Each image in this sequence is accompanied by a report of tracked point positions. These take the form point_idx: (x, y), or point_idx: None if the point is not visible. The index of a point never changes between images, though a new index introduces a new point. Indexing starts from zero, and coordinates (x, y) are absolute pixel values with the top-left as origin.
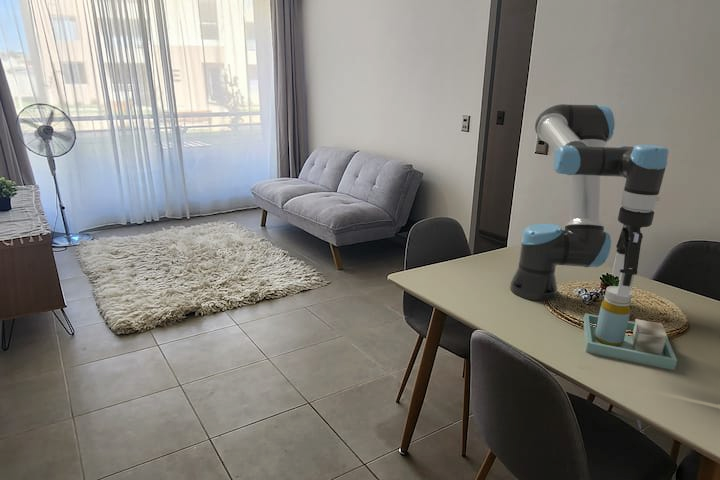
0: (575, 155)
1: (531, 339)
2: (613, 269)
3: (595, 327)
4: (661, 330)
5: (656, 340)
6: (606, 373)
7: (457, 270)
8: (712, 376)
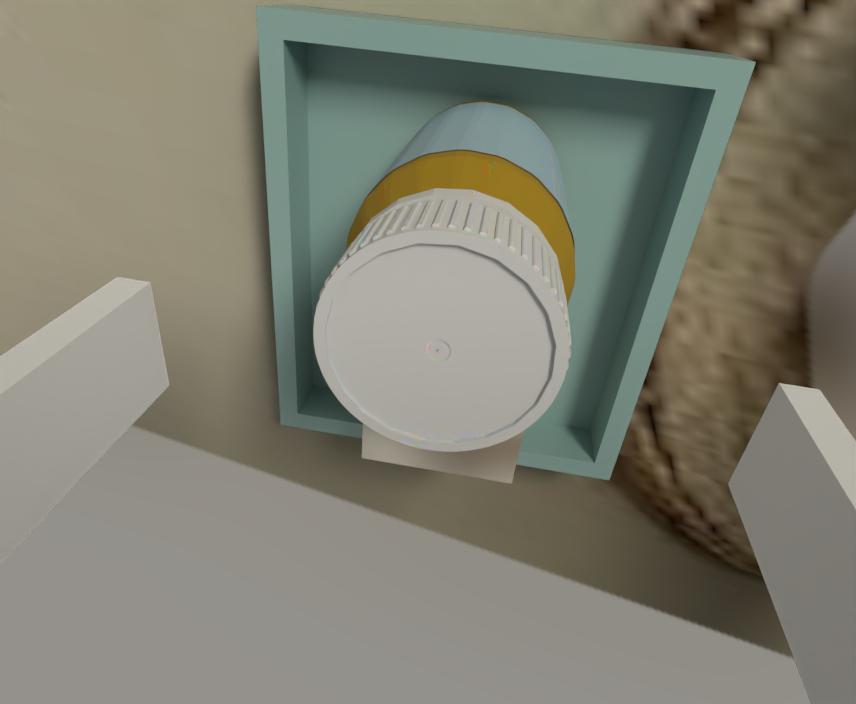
0: None
1: None
2: (813, 448)
3: (644, 132)
4: (420, 455)
5: None
6: (146, 98)
7: None
8: (338, 496)
